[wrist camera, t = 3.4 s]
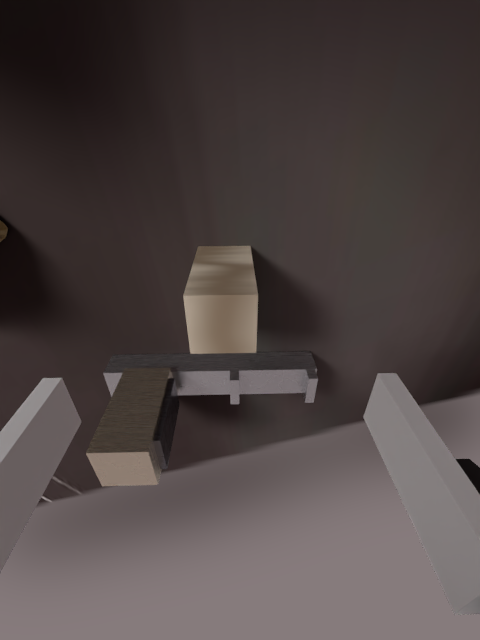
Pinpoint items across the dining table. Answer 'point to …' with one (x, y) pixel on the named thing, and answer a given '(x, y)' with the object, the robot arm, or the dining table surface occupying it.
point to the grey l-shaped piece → (162, 402)
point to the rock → (3, 230)
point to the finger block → (222, 301)
